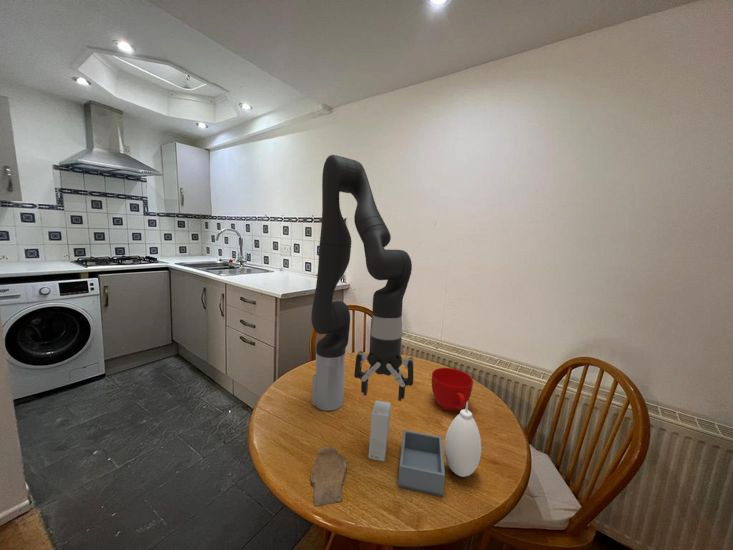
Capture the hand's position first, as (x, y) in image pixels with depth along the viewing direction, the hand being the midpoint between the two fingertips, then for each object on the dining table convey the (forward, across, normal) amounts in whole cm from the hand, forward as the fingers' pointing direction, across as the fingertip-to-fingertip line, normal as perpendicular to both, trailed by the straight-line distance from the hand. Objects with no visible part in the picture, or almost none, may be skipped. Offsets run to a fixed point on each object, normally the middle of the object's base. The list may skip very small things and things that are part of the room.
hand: (382, 396), depth 69 cm
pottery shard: (+16, -10, -9) cm, 21 cm away
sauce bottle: (+15, +19, -1) cm, 25 cm away
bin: (+15, +10, -3) cm, 18 cm away
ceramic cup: (+15, +20, +25) cm, 35 cm away
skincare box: (+15, 0, 0) cm, 15 cm away
